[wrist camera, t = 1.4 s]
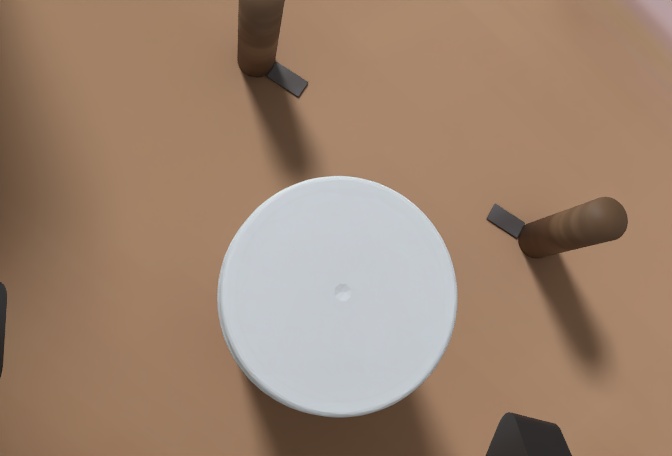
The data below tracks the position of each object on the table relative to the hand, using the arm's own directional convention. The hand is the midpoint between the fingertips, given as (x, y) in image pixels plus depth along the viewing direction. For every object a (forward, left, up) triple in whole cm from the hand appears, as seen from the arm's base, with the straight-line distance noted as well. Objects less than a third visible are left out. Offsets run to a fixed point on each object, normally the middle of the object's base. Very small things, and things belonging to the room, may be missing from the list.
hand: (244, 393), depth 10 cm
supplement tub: (+2, +4, -27) cm, 28 cm away
